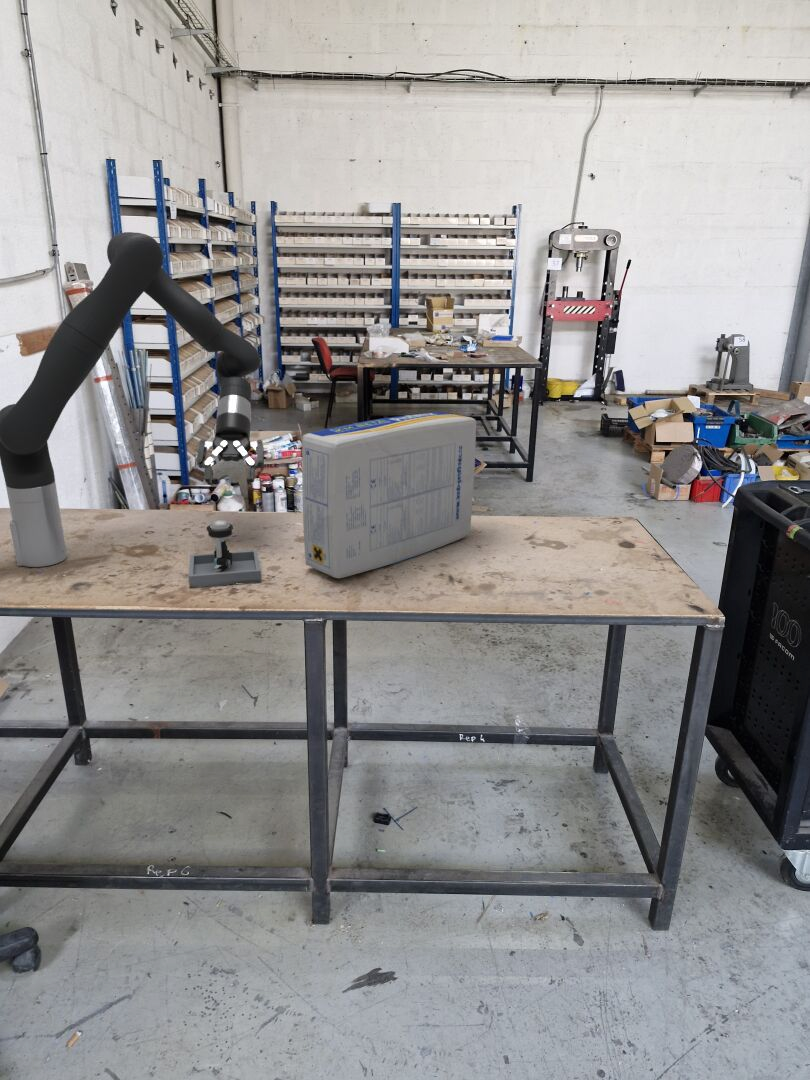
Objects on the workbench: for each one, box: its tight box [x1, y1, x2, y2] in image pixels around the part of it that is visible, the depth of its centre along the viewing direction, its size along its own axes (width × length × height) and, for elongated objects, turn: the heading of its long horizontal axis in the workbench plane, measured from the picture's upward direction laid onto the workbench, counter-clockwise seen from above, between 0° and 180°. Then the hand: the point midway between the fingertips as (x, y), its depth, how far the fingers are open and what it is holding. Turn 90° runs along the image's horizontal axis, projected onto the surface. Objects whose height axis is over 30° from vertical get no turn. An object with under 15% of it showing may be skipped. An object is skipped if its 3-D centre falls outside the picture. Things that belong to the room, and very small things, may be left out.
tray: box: [188, 549, 262, 589], centre depth 148 cm, size 14×12×2 cm
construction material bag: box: [301, 411, 477, 579], centre depth 156 cm, size 43×12×30 cm, turn 135°
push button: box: [206, 519, 234, 573], centre depth 148 cm, size 7×5×10 cm
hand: (229, 483), depth 154 cm, fingers open, 8 cm apart
